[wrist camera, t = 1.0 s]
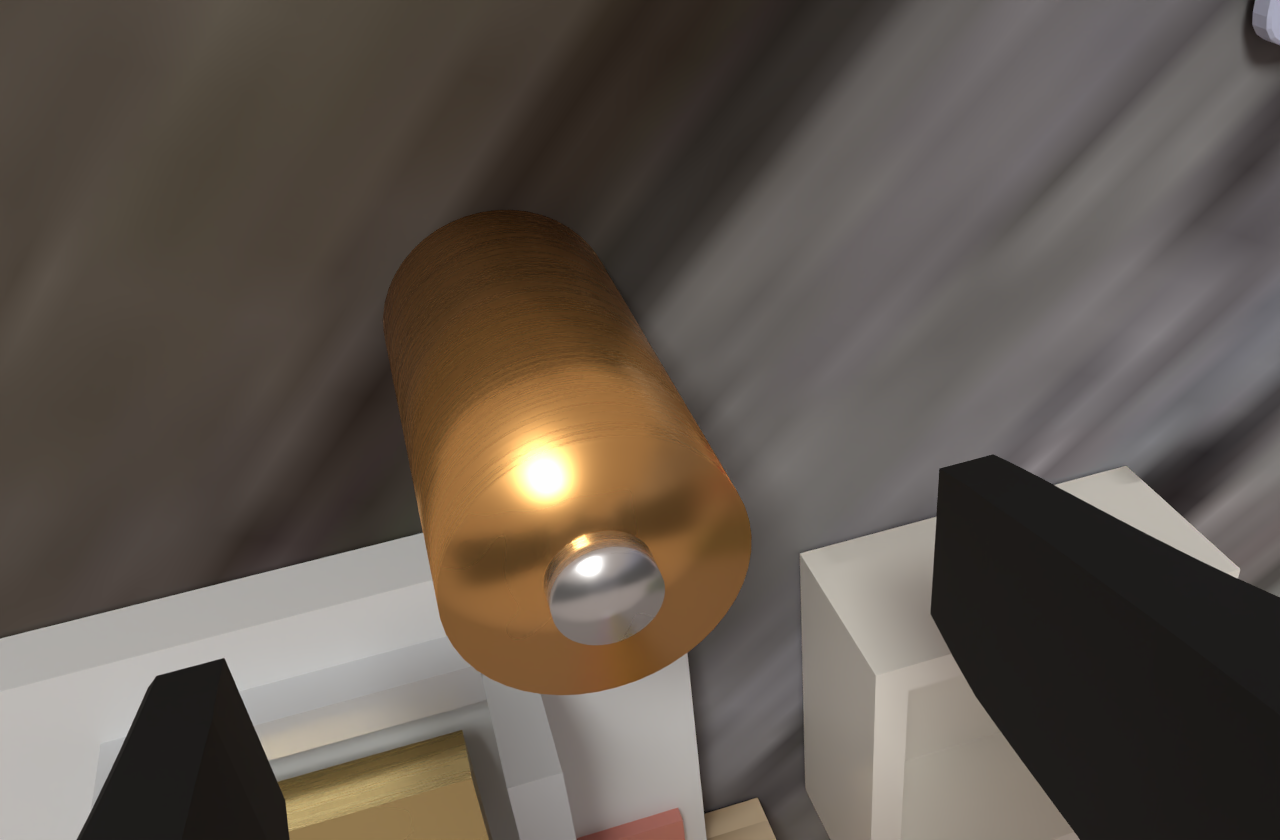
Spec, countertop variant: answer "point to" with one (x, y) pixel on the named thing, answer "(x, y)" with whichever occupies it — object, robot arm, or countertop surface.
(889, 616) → the white square open box
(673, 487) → the cell
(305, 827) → the pad
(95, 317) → the countertop surface
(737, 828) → the trough
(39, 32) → the countertop surface
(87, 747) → the white compartment tray
